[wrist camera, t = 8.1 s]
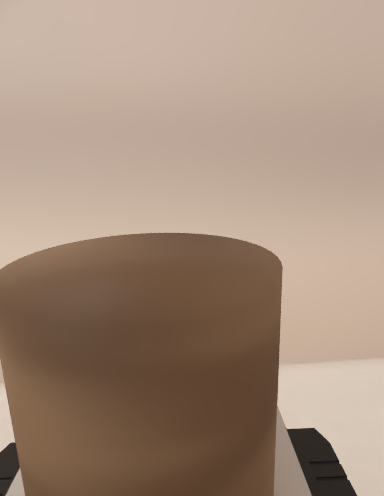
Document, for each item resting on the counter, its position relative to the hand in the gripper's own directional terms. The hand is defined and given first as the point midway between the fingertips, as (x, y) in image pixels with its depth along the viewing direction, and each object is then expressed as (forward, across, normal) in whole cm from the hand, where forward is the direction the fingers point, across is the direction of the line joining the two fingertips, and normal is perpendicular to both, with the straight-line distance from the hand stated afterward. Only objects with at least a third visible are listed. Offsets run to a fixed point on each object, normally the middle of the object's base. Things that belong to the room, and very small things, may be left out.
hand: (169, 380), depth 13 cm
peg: (-5, 0, -8) cm, 10 cm away
